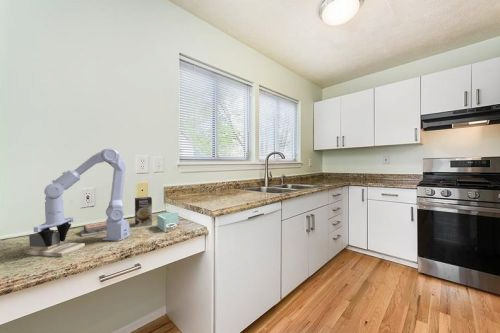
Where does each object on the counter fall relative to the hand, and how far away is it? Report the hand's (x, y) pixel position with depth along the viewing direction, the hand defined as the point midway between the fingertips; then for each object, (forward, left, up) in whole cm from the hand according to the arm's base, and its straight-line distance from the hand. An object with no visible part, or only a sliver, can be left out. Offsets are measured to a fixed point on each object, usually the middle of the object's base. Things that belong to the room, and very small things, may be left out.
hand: (55, 243), depth 92 cm
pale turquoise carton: (-33, -37, -4) cm, 50 cm away
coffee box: (-14, -39, -3) cm, 42 cm away
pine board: (0, 0, -3) cm, 3 cm away
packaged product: (+2, -26, -4) cm, 26 cm away
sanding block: (+5, 0, -2) cm, 5 cm away
